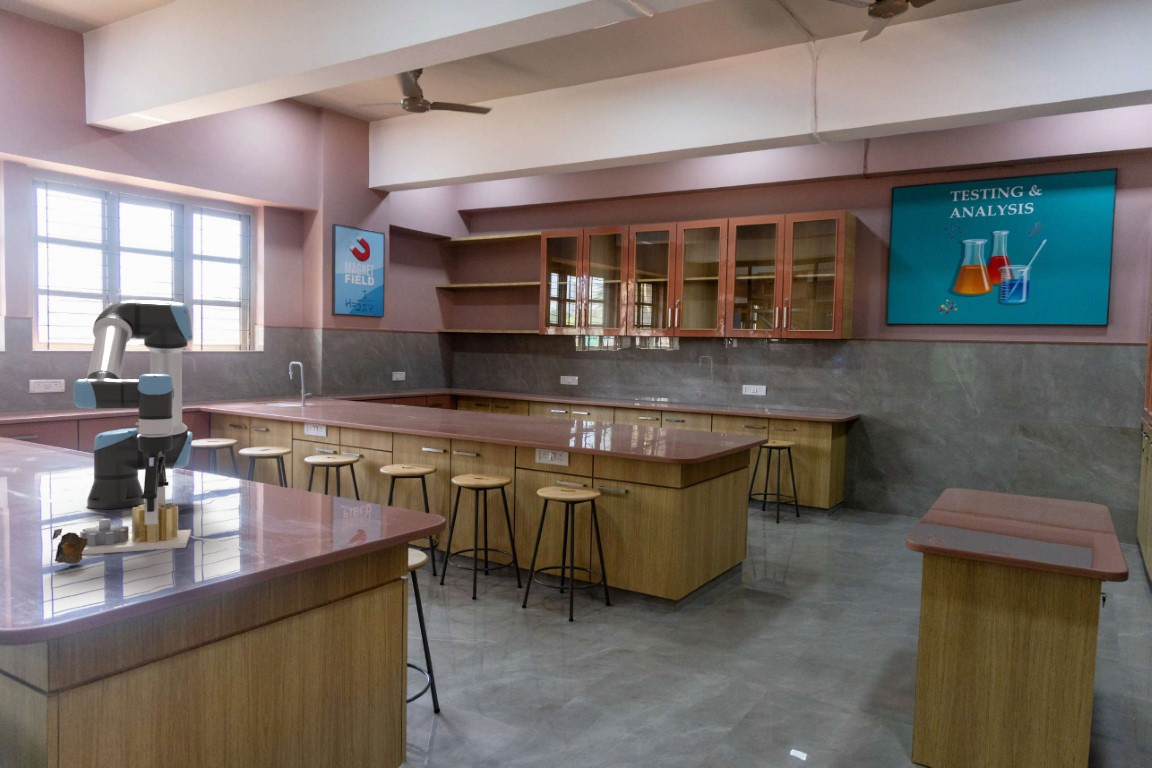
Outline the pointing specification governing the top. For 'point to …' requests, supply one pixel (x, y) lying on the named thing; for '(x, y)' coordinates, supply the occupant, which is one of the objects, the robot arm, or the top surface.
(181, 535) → the gear board
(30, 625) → the top surface
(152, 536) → the brass gear
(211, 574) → the top surface
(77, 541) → the rock
